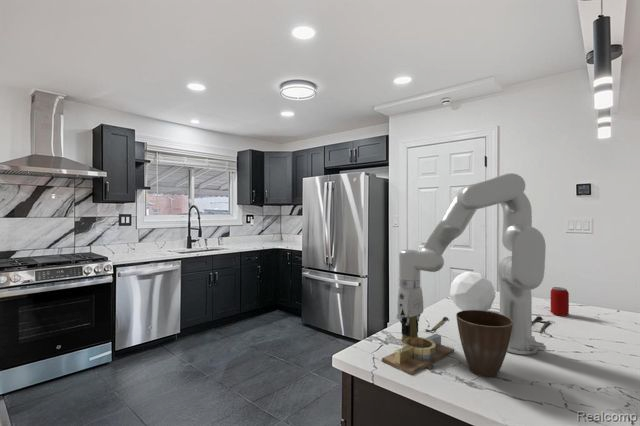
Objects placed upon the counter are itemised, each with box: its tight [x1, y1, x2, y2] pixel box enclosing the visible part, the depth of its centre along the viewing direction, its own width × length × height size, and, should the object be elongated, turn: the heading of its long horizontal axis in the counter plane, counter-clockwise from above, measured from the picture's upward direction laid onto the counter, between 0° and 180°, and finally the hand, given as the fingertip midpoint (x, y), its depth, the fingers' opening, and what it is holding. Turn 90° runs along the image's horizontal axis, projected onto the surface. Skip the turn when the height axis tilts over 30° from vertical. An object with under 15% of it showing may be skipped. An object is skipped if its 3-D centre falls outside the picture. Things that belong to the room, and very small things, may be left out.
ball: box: [449, 271, 496, 311], centre depth 154 cm, size 19×20×20 cm
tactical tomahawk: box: [425, 316, 449, 334], centre depth 136 cm, size 21×7×1 cm, turn 140°
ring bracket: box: [394, 333, 442, 365], centre depth 107 cm, size 23×10×4 cm, turn 129°
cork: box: [401, 314, 419, 342], centre depth 120 cm, size 6×6×11 cm
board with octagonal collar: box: [381, 344, 455, 375], centre depth 107 cm, size 24×11×1 cm, turn 129°
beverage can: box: [550, 286, 570, 317], centre depth 151 cm, size 7×7×12 cm
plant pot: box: [455, 310, 513, 378], centre depth 97 cm, size 15×15×16 cm
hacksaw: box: [532, 315, 556, 338], centre depth 134 cm, size 24×10×2 cm, turn 133°
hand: (410, 332), depth 120 cm, fingers open, 4 cm apart
